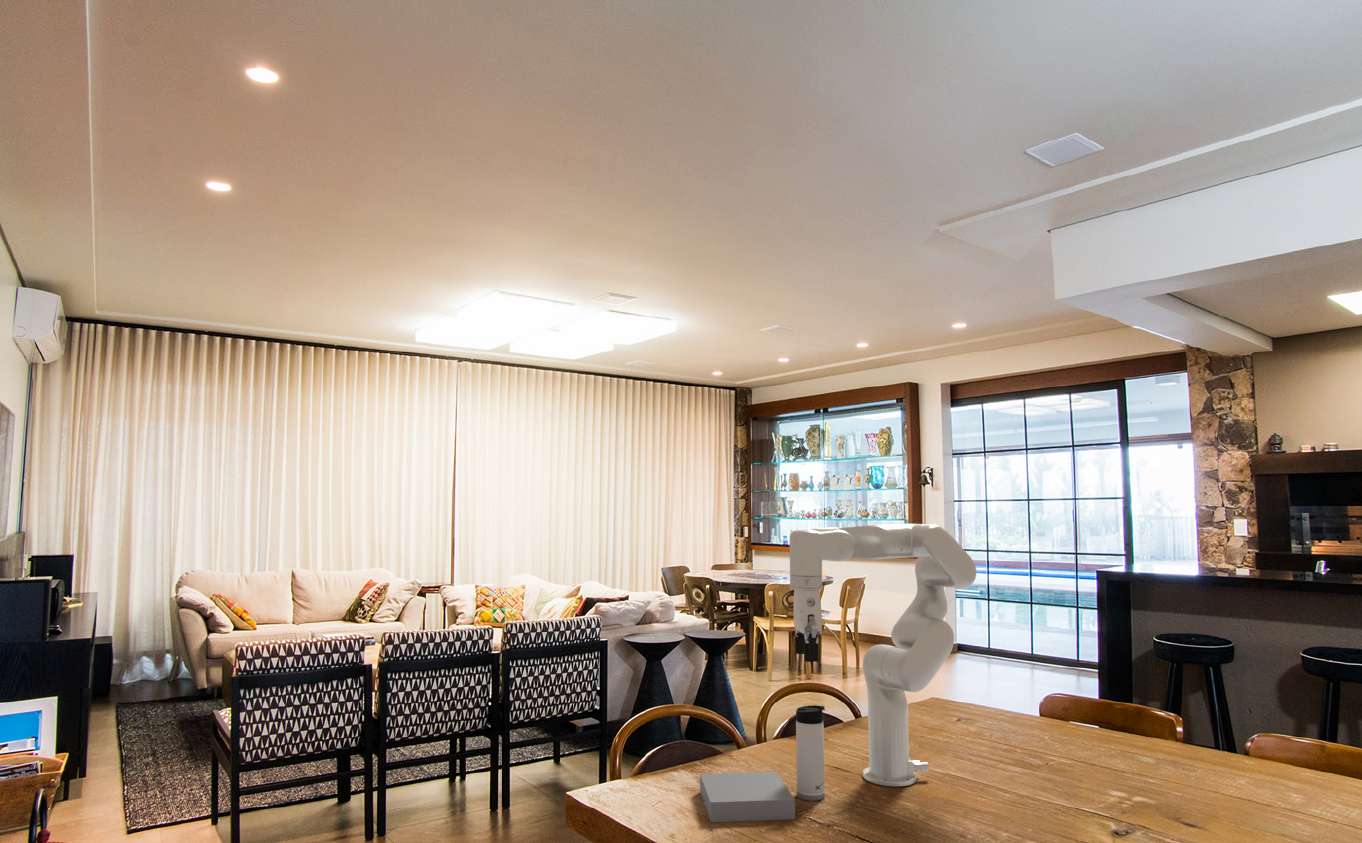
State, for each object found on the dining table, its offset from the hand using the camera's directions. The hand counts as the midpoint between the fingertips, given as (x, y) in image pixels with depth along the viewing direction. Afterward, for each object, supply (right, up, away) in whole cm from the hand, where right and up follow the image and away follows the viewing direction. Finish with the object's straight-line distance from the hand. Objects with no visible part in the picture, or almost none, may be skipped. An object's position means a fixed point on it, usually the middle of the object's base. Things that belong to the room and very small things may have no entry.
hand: (806, 657), depth 189 cm
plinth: (-15, -30, -10) cm, 35 cm away
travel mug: (+1, -31, -4) cm, 31 cm away
